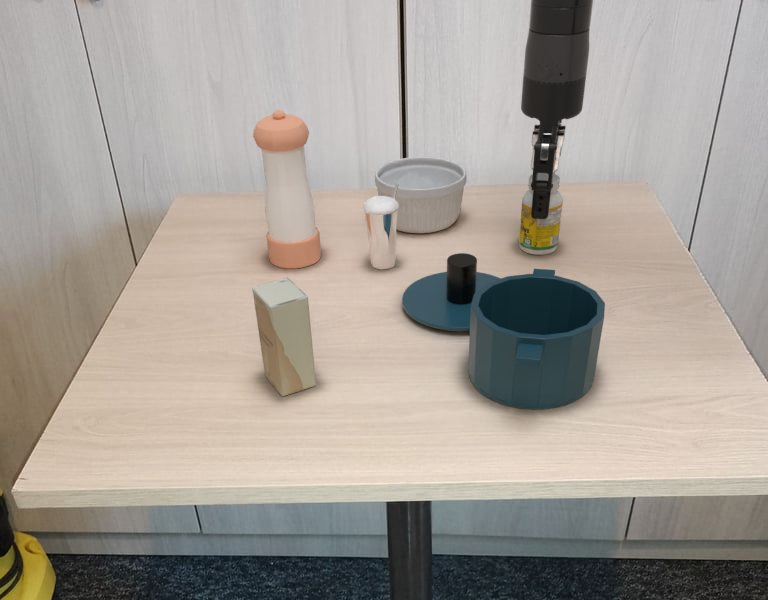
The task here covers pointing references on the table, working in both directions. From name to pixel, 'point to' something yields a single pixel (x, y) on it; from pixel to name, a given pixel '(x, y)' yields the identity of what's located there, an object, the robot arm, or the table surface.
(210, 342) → the table surface
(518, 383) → the pot
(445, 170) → the ramekin
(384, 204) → the milkshake
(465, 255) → the lid
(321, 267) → the table surface
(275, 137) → the pepper shaker
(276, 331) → the box
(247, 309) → the table surface
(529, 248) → the supplement bottle
